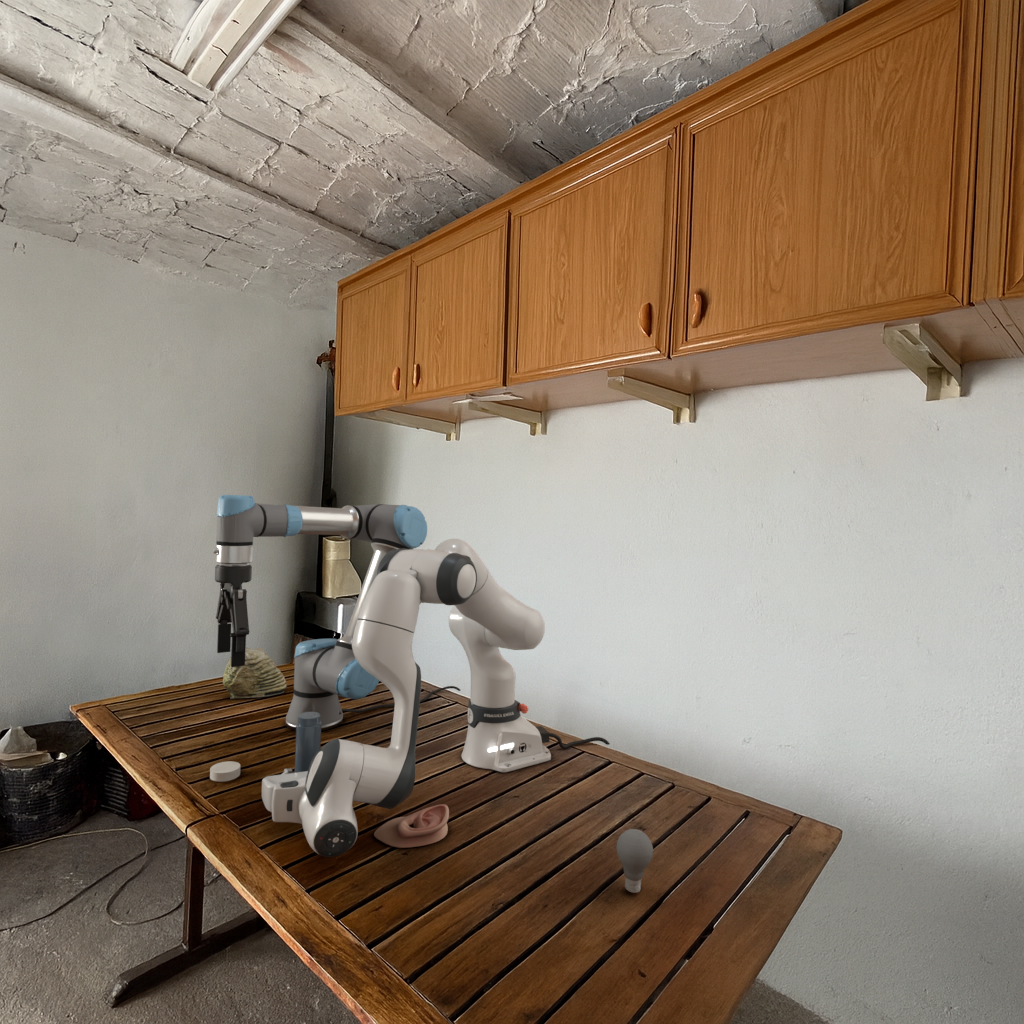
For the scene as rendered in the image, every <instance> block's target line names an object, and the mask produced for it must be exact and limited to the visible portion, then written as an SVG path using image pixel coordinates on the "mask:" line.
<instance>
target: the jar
mask: <svg viewBox="0 0 1024 1024" xmlns="http://www.w3.org/2000/svg"><path fill="white" fill-rule="evenodd" d="M320 719H321V717H320V714H319V713H317V712H304V713H301V714H299V715H298V722H297V723H296V731H295V748H294V772H293V773H297V772H305V771H308V770H309V767H310V764H311V762H312V759H313V757H314V756H315V754H316V753H317V751H319V750H320V749H321V748H322V746H321V745H322V731H321V723H322V722H321V721H320Z"/></svg>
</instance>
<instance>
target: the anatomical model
mask: <svg viewBox="0 0 1024 1024" xmlns="http://www.w3.org/2000/svg"><path fill="white" fill-rule="evenodd" d="M449 817H450V809H449V807H448V805H447V804H443V803H442V804H435V805H432V806H429V807H426V808H423V809H421V810H418V811H416V812H413V813H411V814H409V815H407V816H400V817H395V818H392V819H390V820H388V821H386V822H384V823H383V824H382V825H380V826H379V827H378V828H377V829H376V830H375V832H374V833H373V836H374V837H375V839H377V840H378V841H380V842H382V843H384V844H385V845H388V846H391V847H394V848H398V849H399V848H400V849H403V848H414V847H415V848H416V847H423V846H428V845H431V844H434V843H437V842H439V841H441V840H443V839H444V838H446V836H447V835H448V832H449V831H448V829H449V826H448V824H447V823H448V821H449Z"/></svg>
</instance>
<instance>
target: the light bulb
mask: <svg viewBox="0 0 1024 1024" xmlns="http://www.w3.org/2000/svg"><path fill="white" fill-rule="evenodd" d="M615 849H616V854H617V857H618V859H619V861H620V863H621V865H622V867H623V873H624V874H623V875H624V876H625V878H624V888H625V890H627V891H628V892H630V893H634V894H635V893H639V892H640V891H641V889H642V887H641V886H642V879H643V877H644V875H645V871H646V868H647V867H648V866H649V864H650V863H651V861H652V859H653V855H654V847H653V843H652V841H651V838H649V836H648V835H647V834H646V833H645V832H643V831H642V830H641V829H636V828H629V829H627V830H625V831H623V832H622V833H621V834H620V835H619V837H618V839H617V841H616V847H615Z"/></svg>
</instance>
